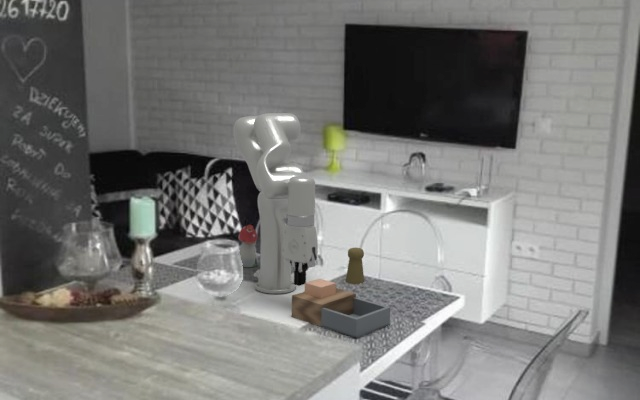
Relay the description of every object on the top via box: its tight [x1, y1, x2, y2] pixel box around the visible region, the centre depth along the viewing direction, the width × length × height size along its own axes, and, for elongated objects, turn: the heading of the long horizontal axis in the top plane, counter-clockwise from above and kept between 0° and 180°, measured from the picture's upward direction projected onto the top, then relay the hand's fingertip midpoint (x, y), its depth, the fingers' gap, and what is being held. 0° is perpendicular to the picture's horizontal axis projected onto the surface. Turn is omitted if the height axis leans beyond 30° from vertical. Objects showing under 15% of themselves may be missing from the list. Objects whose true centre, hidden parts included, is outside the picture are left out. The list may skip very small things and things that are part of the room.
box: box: [320, 296, 391, 339], centre depth 189 cm, size 12×14×5 cm
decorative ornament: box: [238, 224, 258, 268], centre depth 246 cm, size 9×6×15 cm
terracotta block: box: [304, 278, 337, 298], centre depth 197 cm, size 6×6×3 cm
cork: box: [345, 247, 365, 285], centre depth 230 cm, size 6×6×11 cm
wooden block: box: [291, 287, 357, 327], centre depth 197 cm, size 11×14×6 cm
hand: (299, 284), depth 202 cm, fingers closed
